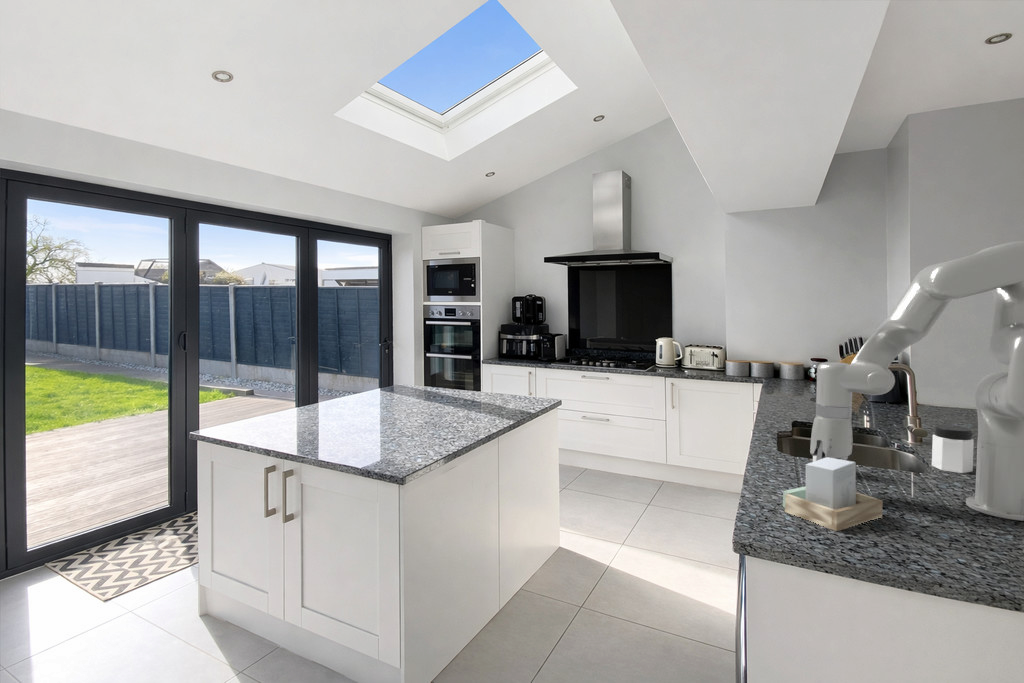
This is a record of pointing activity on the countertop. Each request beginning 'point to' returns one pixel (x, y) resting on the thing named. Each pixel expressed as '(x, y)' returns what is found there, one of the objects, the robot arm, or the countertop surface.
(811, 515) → the wooden tray
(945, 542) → the countertop surface
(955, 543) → the countertop surface
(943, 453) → the jar
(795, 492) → the gate
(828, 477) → the skincare box
